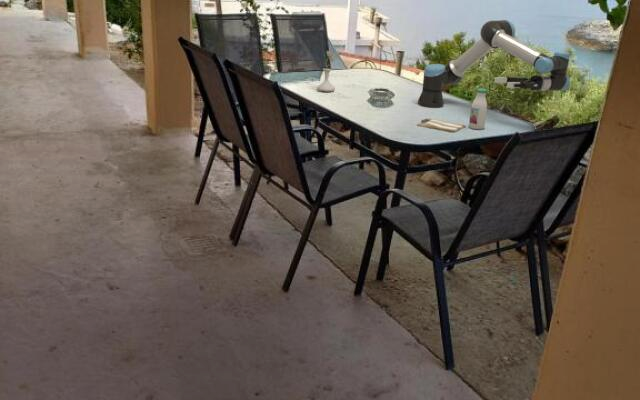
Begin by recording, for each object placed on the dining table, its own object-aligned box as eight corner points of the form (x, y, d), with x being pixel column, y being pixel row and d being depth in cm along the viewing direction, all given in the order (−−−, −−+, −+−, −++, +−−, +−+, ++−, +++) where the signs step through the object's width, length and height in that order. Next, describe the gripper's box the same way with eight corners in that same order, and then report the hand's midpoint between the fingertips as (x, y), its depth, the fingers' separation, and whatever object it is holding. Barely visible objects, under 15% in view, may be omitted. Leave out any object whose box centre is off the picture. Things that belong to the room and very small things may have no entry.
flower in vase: (335, 93, 370) (337, 52, 361) (316, 92, 370) (318, 51, 361) (334, 89, 382) (337, 50, 373) (317, 88, 382) (319, 49, 373)
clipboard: (429, 120, 315) (430, 116, 314) (465, 126, 305) (466, 123, 304) (416, 125, 303) (417, 122, 302) (453, 132, 292) (454, 129, 292)
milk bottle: (481, 126, 308) (487, 88, 300) (485, 130, 301) (491, 91, 293) (466, 125, 307) (472, 87, 300) (470, 129, 300) (476, 90, 293)
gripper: (551, 95, 291) (511, 94, 287) (525, 85, 314) (488, 85, 310) (554, 79, 288) (514, 79, 284) (528, 71, 311) (491, 70, 307)
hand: (500, 82), depth 297 cm, fingers open, 13 cm apart
